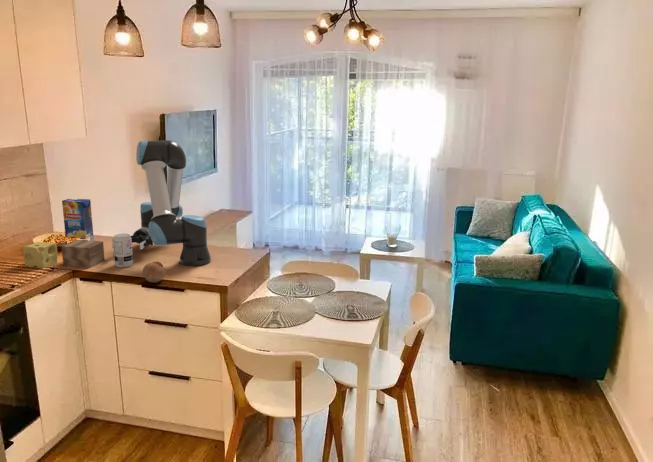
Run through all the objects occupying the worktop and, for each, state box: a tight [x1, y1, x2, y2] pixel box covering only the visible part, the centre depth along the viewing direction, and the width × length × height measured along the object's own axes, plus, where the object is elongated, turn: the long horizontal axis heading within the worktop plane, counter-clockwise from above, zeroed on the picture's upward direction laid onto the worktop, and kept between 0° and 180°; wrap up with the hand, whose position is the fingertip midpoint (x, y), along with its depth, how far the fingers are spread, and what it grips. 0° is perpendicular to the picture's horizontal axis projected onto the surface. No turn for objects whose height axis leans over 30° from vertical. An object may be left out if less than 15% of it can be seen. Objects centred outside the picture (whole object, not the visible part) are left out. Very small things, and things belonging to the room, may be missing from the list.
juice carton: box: [61, 197, 95, 241], centre depth 284 cm, size 12×8×24 cm, turn 81°
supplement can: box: [112, 233, 134, 268], centre depth 248 cm, size 8×8×15 cm
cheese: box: [22, 241, 58, 269], centre depth 247 cm, size 10×11×10 cm
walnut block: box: [60, 240, 105, 269], centre depth 250 cm, size 14×12×10 cm
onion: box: [142, 261, 166, 284], centre depth 229 cm, size 10×9×10 cm
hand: (126, 246), depth 254 cm, fingers open, 13 cm apart
